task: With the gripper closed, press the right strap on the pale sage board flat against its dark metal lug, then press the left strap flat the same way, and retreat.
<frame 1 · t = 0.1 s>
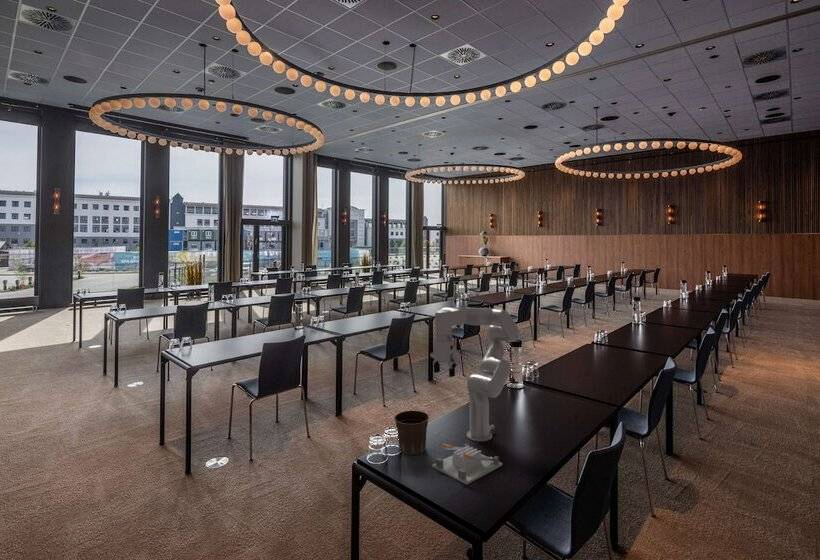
hand: (444, 374, 206), 37 cm above the table, tool pointing down, fingers open, 9 cm apart
plant pot: (412, 450, 211), on the table
strap 1: (457, 447, 200), point 6 cm above the table, hinge at 20.0°
strap 2: (480, 457, 190), point 6 cm above the table, hinge at 20.0°
cooler board: (467, 466, 195), on the table
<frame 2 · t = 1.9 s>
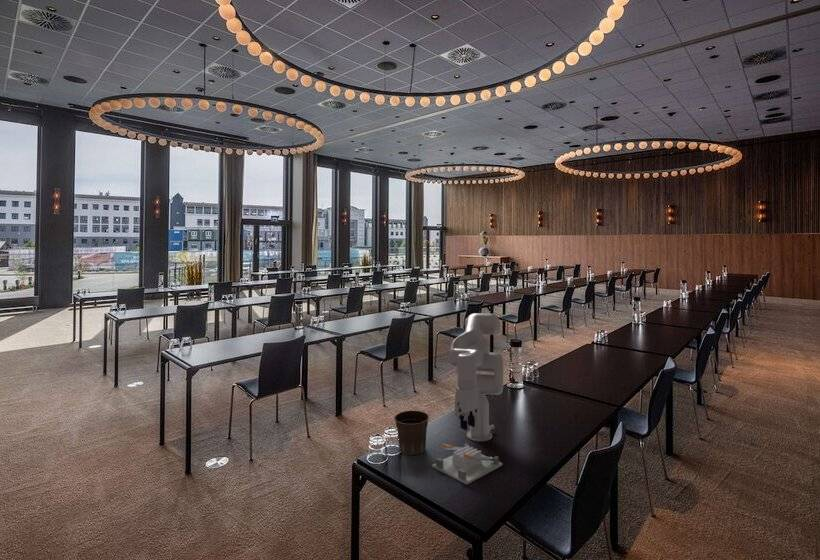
hand: (467, 427, 184), 21 cm above the table, tool pointing down, fingers open, 3 cm apart
nothing on the table moved.
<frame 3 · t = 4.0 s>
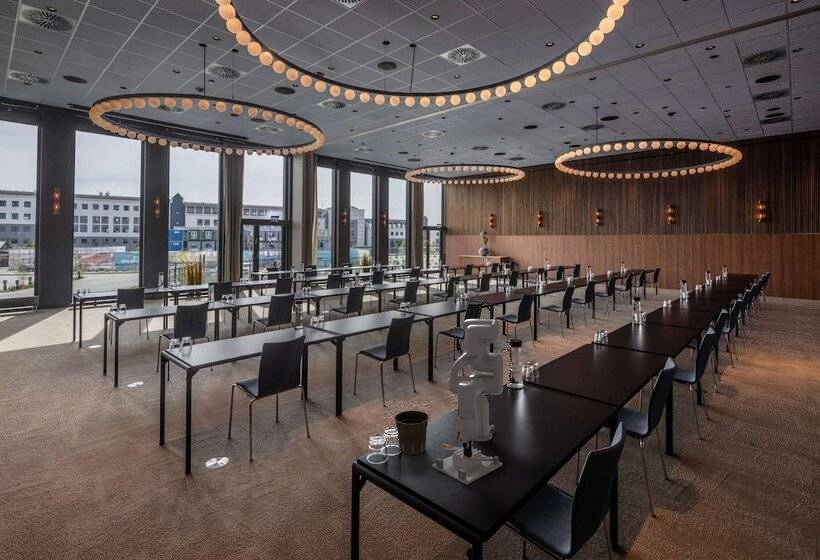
hand: (467, 456, 185), 9 cm above the table, tool pointing down, fingers closed
strap 2: (479, 458, 190), point 5 cm above the table, hinge at 17.9°, touching gripper
everything else where it was.
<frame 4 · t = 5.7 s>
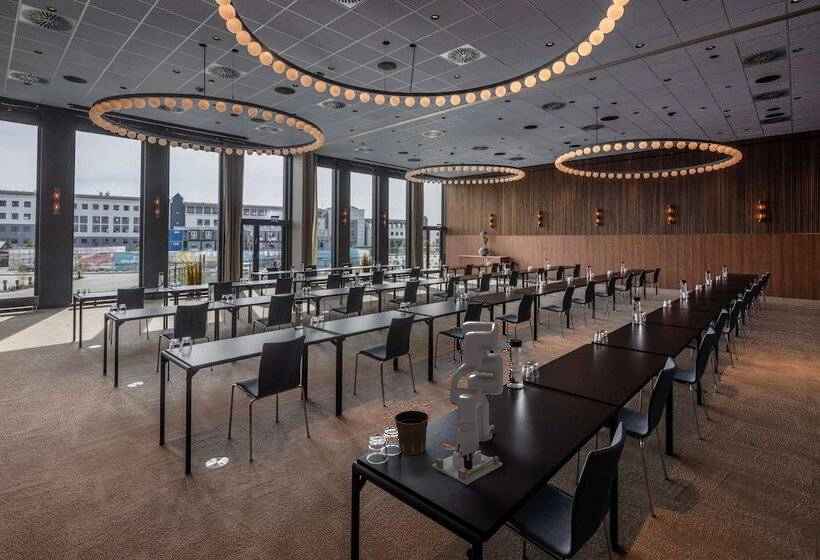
hand: (468, 468, 185), 4 cm above the table, tool pointing down, fingers closed
strap 2: (479, 464, 190), point 3 cm above the table, hinge at 1.2°, touching gripper
everything else where it was.
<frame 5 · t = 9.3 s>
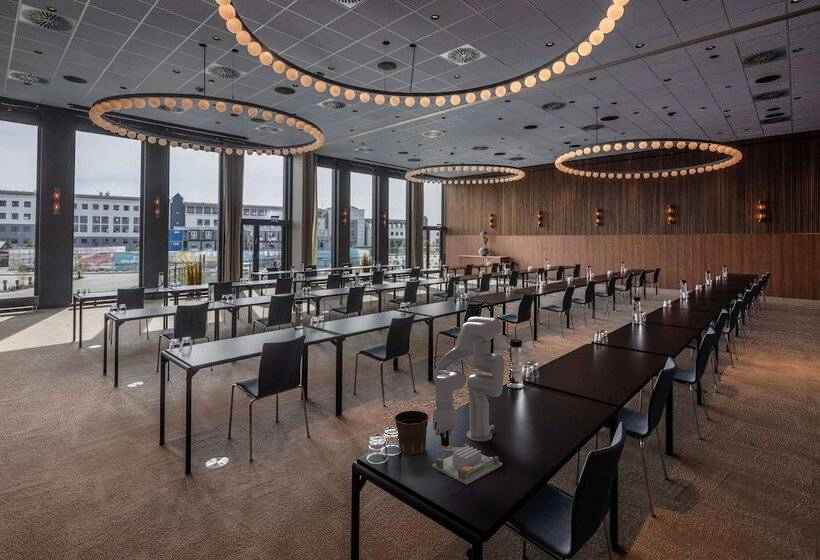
hand: (445, 445, 194), 9 cm above the table, tool pointing down, fingers closed
strap 1: (457, 448, 200), point 6 cm above the table, hinge at 18.7°, touching gripper
strap 2: (479, 464, 190), point 3 cm above the table, hinge at 1.1°
everything else where it was.
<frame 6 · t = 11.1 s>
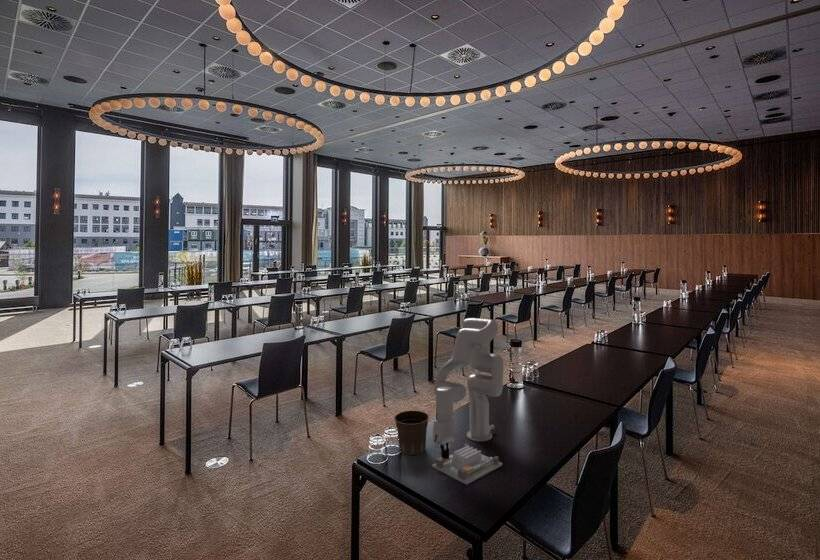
hand: (445, 457, 195), 4 cm above the table, tool pointing down, fingers closed
strap 1: (456, 454, 200), point 3 cm above the table, hinge at 1.1°, touching gripper
everything else where it was.
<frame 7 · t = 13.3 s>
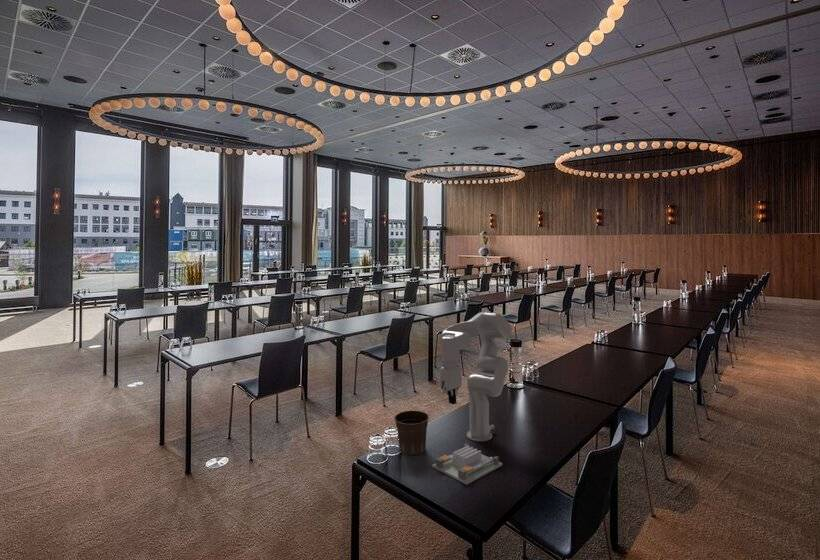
hand: (452, 403, 201), 25 cm above the table, tool pointing down, fingers closed
strap 1: (456, 454, 200), point 3 cm above the table, hinge at 1.0°
everything else where it was.
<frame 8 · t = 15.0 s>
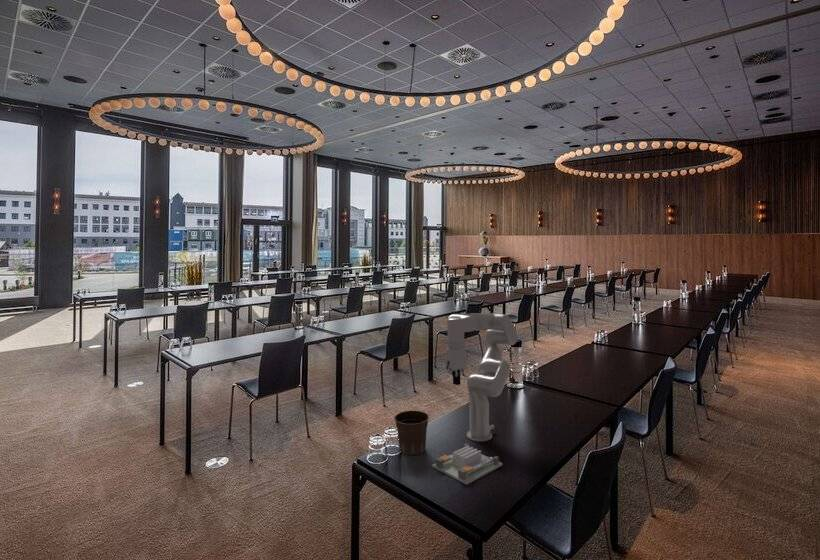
hand: (456, 384, 206), 32 cm above the table, tool pointing down, fingers closed
nothing on the table moved.
at the end: strap 2 at +1° (first picture: +20°); strap 1 at +1° (first picture: +20°) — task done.
